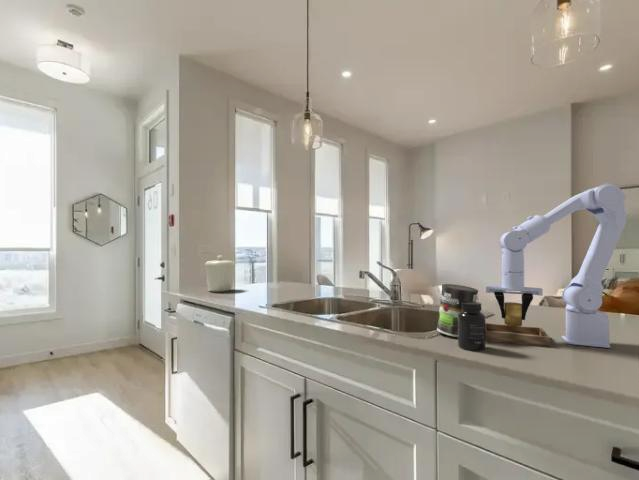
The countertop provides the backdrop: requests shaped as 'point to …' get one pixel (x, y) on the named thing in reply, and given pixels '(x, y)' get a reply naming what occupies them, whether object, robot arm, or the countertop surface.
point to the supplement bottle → (471, 327)
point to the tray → (517, 335)
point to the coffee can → (453, 307)
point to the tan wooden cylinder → (513, 314)
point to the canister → (219, 274)
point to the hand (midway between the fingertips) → (513, 318)
